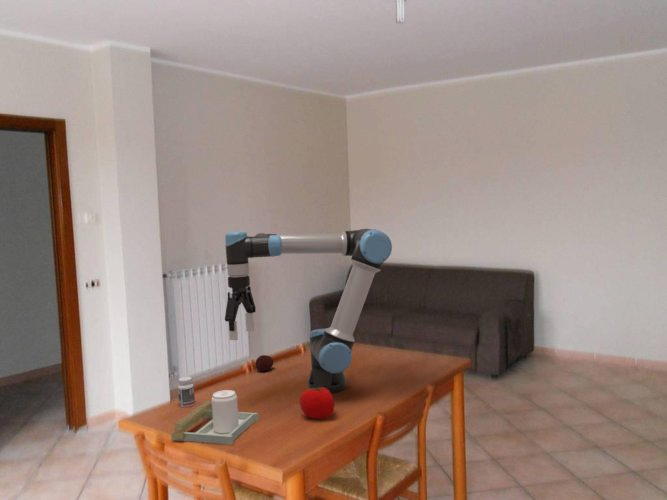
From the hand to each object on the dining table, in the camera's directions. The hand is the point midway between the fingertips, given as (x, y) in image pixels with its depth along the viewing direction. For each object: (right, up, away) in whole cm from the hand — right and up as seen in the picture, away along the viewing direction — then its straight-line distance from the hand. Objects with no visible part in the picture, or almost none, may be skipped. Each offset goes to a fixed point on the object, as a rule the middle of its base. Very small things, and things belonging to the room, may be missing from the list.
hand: (242, 335), depth 207 cm
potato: (+2, -23, +49) cm, 54 cm away
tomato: (+27, -26, -8) cm, 39 cm away
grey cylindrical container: (-2, -28, -17) cm, 33 cm away
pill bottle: (-22, -27, +9) cm, 36 cm away
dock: (-6, -28, -16) cm, 33 cm away
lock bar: (-13, -27, -14) cm, 33 cm away
